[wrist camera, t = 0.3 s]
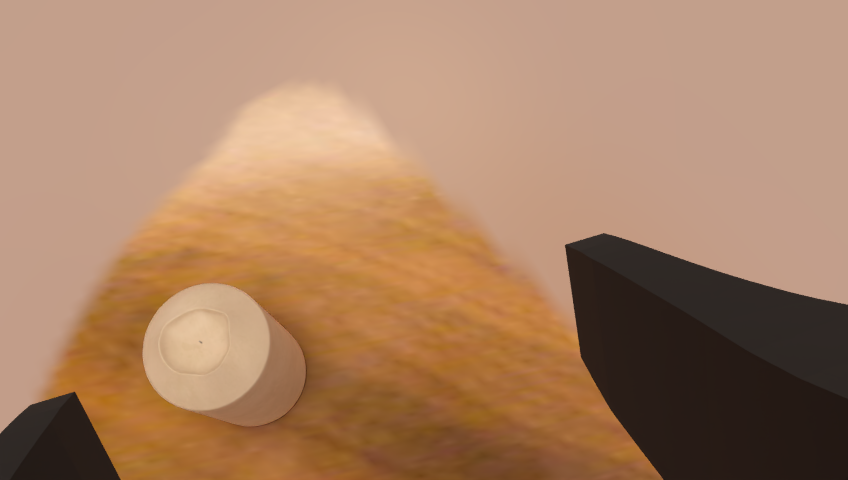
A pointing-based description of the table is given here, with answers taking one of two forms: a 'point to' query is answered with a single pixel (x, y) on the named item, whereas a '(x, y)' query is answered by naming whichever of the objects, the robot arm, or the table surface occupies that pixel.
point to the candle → (223, 356)
